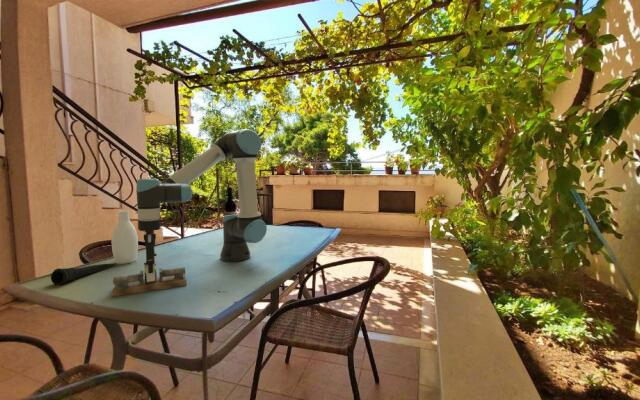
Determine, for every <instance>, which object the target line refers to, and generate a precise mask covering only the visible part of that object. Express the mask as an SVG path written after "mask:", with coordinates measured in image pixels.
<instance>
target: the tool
mask: <svg viewBox="0 0 640 400" xmlns="http://www.w3.org/2000/svg"><path fill="white" fill-rule="evenodd" d="M116 266H117V263H99V264H93V265H87V266H84V267H83V266H82V267H77V268H74V267H69V268H67V267H66V268H64V267H63V268H56V269H54V270H53V271H52V273H51V275H50V280H51V283H52V284H53V285H55V286H63V285H65V284H66V283H68V282H71V281H74V280H75V279H78V278H82V277H85V276H89V275H92V274H95V273H99V272H101V271H104V270H107V269H111V268H114V267H116Z"/></svg>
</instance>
